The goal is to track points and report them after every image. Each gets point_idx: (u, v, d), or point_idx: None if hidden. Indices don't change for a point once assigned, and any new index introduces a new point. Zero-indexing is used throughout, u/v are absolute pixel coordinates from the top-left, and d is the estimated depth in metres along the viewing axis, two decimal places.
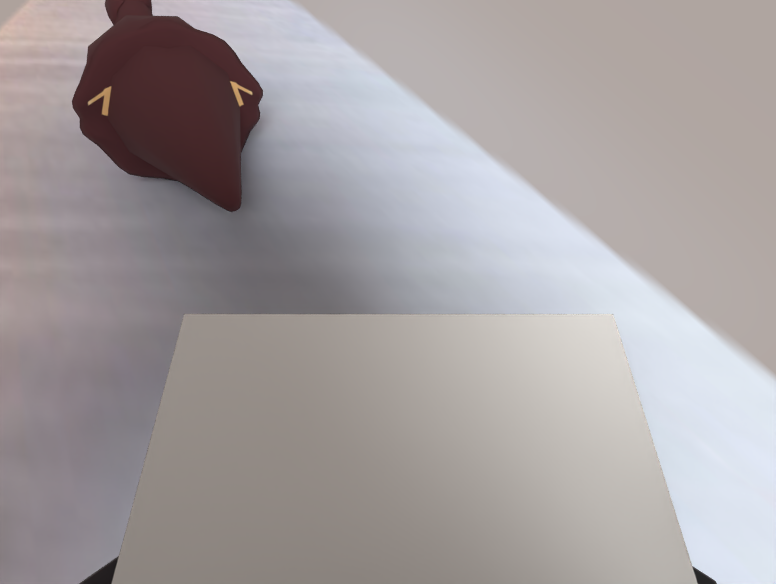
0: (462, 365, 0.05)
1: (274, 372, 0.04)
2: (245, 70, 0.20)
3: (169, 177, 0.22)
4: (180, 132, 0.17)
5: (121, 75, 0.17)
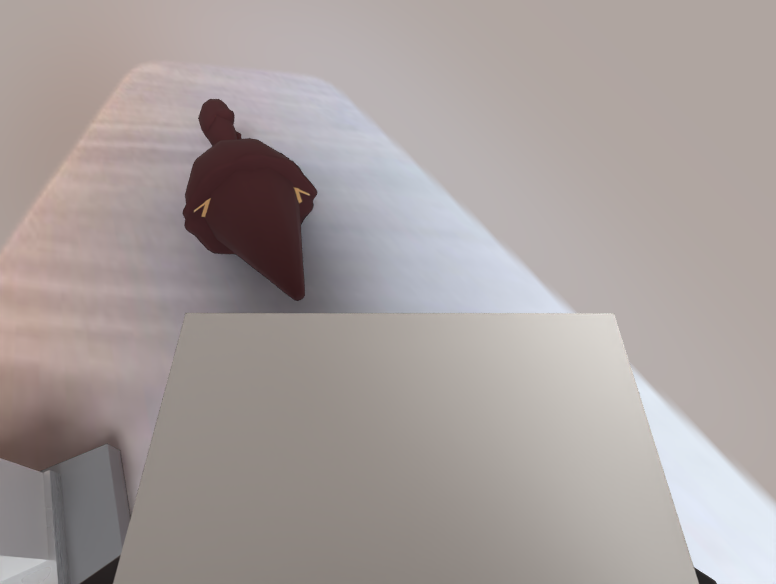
0: (463, 364, 0.05)
1: (275, 371, 0.04)
2: (305, 179, 0.26)
3: None
4: (262, 239, 0.23)
5: (218, 191, 0.24)
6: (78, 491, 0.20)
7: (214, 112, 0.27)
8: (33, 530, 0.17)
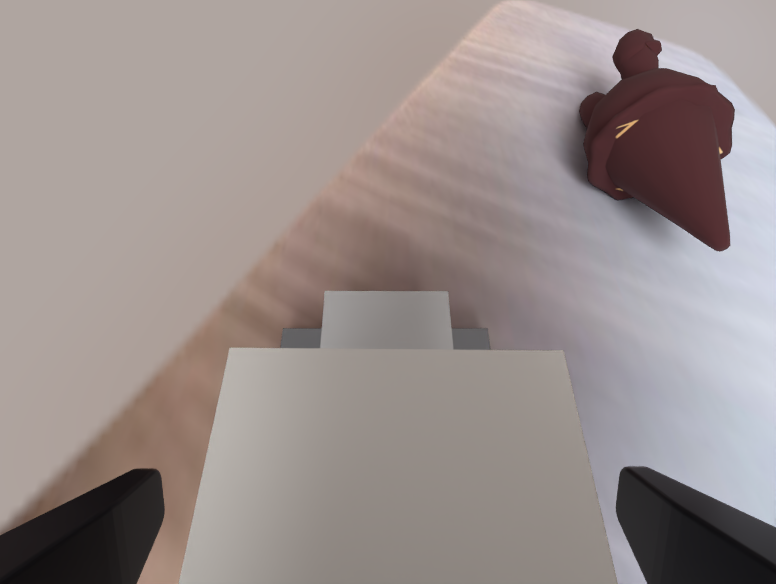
0: (444, 390, 0.06)
1: (300, 394, 0.06)
2: (730, 134, 0.23)
3: (607, 192, 0.26)
4: (694, 175, 0.21)
5: (652, 115, 0.22)
6: None
7: (644, 42, 0.25)
8: None
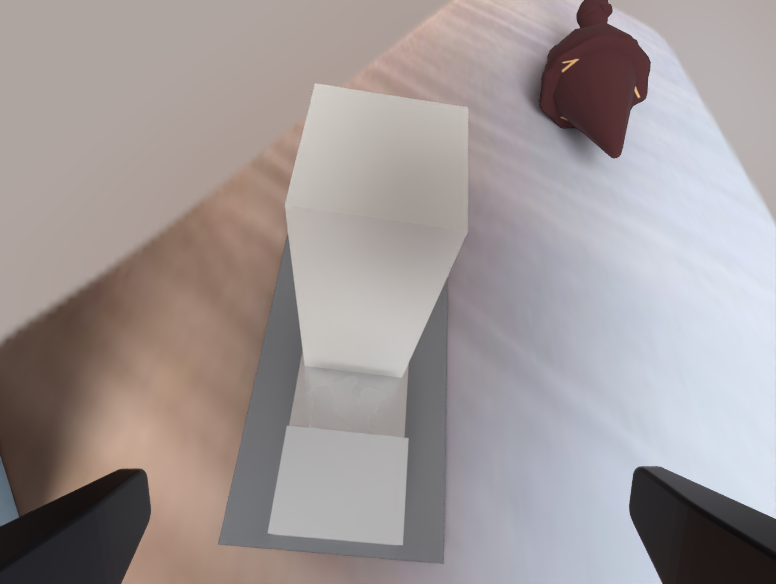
0: (411, 111, 0.13)
1: (347, 104, 0.13)
2: (646, 83, 0.31)
3: (553, 120, 0.34)
4: (607, 103, 0.28)
5: (589, 56, 0.30)
6: None
7: (599, 3, 0.33)
8: None
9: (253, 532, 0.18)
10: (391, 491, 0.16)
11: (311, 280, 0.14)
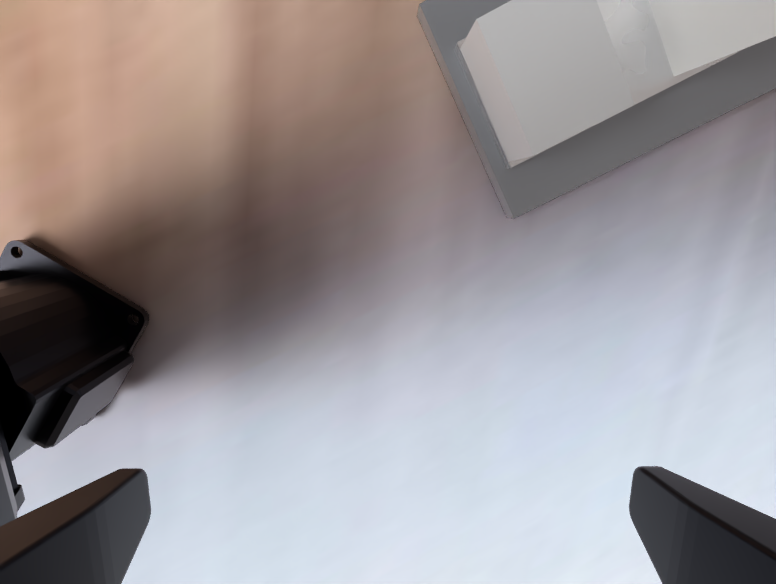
0: None
1: None
2: None
3: None
4: None
5: None
6: None
7: None
8: None
9: (446, 30, 0.18)
10: (574, 117, 0.15)
11: None
